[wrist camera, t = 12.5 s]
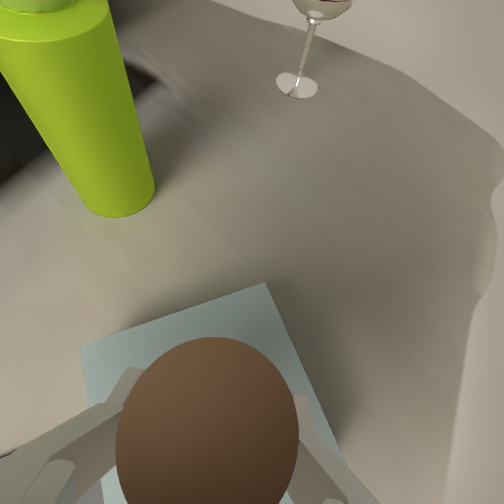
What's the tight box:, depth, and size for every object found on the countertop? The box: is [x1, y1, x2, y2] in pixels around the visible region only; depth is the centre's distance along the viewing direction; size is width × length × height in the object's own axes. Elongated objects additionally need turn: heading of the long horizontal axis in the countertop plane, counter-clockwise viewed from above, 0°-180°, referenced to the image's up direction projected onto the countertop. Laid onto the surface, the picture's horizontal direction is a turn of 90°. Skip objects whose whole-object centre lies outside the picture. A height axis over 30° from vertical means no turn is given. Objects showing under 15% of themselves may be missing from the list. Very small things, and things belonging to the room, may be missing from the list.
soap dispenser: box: [0, 0, 155, 218], centre depth 16 cm, size 6×7×20 cm
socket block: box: [80, 282, 347, 504], centre depth 17 cm, size 11×11×4 cm
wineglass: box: [276, 0, 355, 98], centre depth 29 cm, size 7×7×12 cm
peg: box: [115, 337, 299, 504], centre depth 10 cm, size 3×3×12 cm
